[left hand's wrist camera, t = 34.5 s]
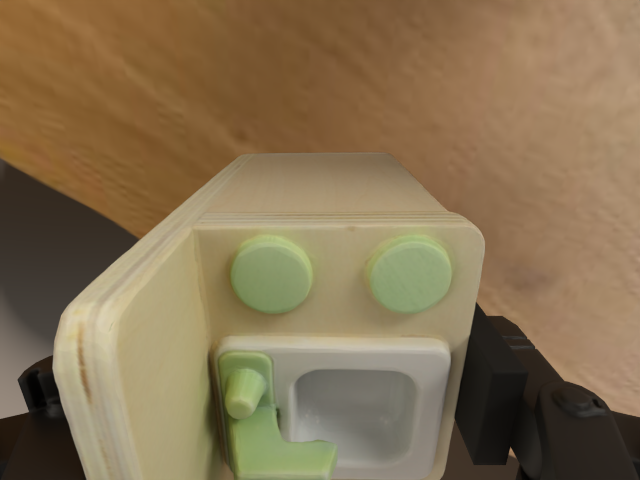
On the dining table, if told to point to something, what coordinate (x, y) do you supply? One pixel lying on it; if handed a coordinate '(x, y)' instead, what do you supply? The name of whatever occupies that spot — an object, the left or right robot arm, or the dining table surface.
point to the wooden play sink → (277, 330)
